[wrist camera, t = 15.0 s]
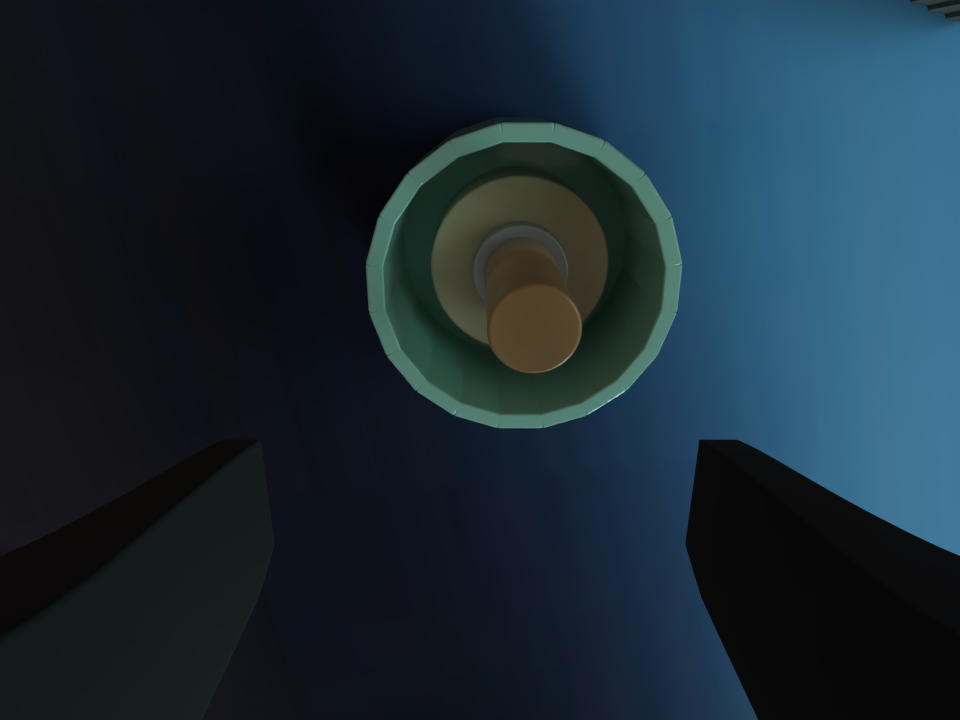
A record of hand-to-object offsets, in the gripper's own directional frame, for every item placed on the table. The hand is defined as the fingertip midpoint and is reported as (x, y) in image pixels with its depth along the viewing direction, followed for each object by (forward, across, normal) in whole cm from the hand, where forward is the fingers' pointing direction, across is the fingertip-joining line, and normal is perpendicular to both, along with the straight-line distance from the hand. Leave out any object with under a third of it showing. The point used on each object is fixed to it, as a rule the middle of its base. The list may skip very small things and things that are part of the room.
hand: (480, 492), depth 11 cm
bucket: (+10, -1, -2) cm, 11 cm away
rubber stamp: (+10, -1, -2) cm, 10 cm away
